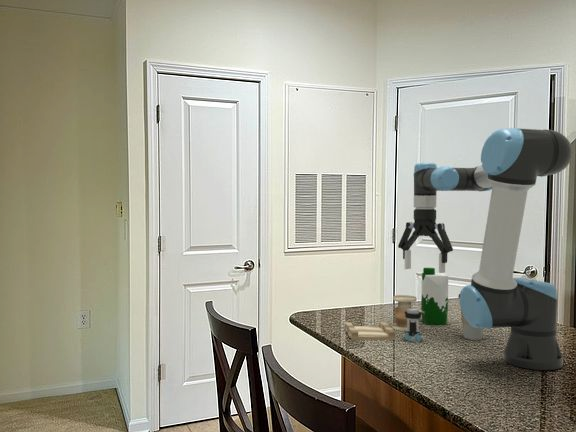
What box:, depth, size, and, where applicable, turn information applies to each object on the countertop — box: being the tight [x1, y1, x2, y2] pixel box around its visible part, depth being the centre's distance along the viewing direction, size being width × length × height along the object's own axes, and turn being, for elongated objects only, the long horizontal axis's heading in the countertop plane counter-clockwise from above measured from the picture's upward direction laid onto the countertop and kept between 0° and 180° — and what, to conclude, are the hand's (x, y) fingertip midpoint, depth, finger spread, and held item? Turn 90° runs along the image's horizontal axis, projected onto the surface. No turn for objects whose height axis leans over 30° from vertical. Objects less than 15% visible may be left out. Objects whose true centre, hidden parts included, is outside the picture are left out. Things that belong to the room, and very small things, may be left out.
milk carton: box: [420, 267, 449, 326], centre depth 198 cm, size 9×9×20 cm
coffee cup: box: [457, 293, 485, 341], centre depth 179 cm, size 9×9×15 cm
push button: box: [404, 307, 427, 343], centre depth 174 cm, size 7×5×10 cm
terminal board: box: [344, 321, 397, 341], centre depth 182 cm, size 14×14×3 cm
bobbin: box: [390, 294, 417, 332], centre depth 190 cm, size 9×9×11 cm
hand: (424, 270), depth 188 cm, fingers open, 13 cm apart
